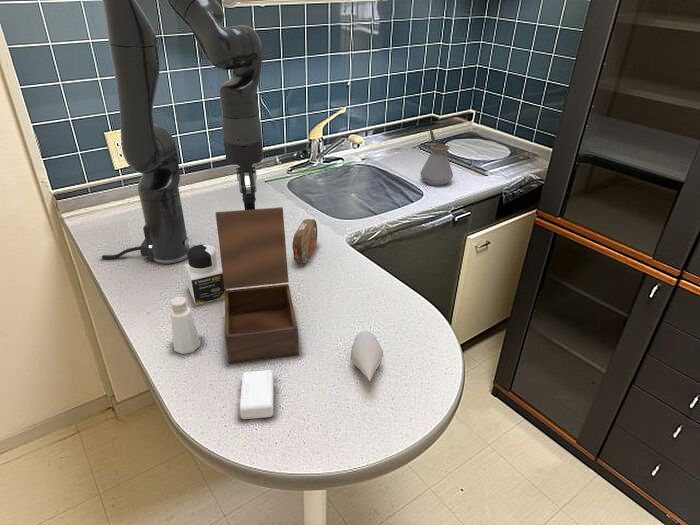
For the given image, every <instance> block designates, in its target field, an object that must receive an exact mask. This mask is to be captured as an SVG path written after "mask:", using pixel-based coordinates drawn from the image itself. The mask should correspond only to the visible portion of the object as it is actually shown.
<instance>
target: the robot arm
mask: <svg viewBox="0 0 700 525" xmlns="http://www.w3.org/2000/svg"><path fill="white" fill-rule="evenodd" d="M165 1H166V2H167V4H168V6H169V7H170V9H171V10H172V11H173V13H175V14H176V16H177V17H178V18H179V19H180V20H181V21H182V22H183V23H184V24H185V26H187V27H188V29H189V30H191V32H192V35H193V37H194V39H195V40H196V43H197V45H199V48H200V50H201V52H202V54H203V56H204V57H205V59H206V60H207V61H208V62H209V64H211V65H212V66H213V67H215V68H216V69H218V70H221V71H231V70H232V72H231V76H230V78H229V79H228V80H227V81H225V82H223V83H222V84H221V85H220V87H219V102H220V110H221V130H222V139H223V147H224V155H225V160H226V162H227V163H228V164H230V165H234V166H238V167H235V168H236V169H235V170H236V180H237V181H238V188H239V193H240V194H242V195H241V197H242V202H243V206H244V210H251V209H256V201H257V198H256V192H257V190H258V189H257V179H258V176H257V170H256V165H257V164H259V163H261V162H262V161H263V160H264V146H263V144H264V143H263V134H262V133H263V132H262V123H261V119H260V112H259V101H258V89H259V83H260V77H261V70H262V63H263V45H262V42H261V39H260V37H259V34H258V33H257V31H256V30H255V29H254V28H253V27H251V26H249V25H245V24H239V25H229V26H223V23H224V19H225V13H224V9H223V7H222V5H221V4H220V3H219V2H218V1H217V0H165ZM102 5H103V11H104V18H105V23H106V30H107V38H108V39H107V40H108V44H109V45H108V46H109V51H110V52H109V53H110V57H111V64H112V68H113V74H114V81H115V88H116V89H115V90H116V95H117V101H118V108H119V110H118V111H119V120H120V121H119V125H120V144H121V151H122V155H123V158H124V160H125V162H126V164H127V165H128V166H129V167H130V168H131V169H132V170H133V171H135V172H136V173H138V174H142V175H141V178H140V180H139V182H138V184H137V192H138V196H139V201H140V206H141V210H142V214H143V215H142V216H143V219H144V220H143V221H144V223H145V224H144V226H143V227H142V231H143V235H144V240H143V241H142V242H141V244H140V245H139V246H135V247H130V248H127V249H124V250H122V251H121V252H118V253H116V254H111V255H110V254H102V255H101V258H102V259H104V260H105V259H108V260H110V259H111V260H113V259H118V258H120V257H122V256H125V254H127V253H132V252H135V251H139V252H140V256H141V257H149V258H148V259H149V261H150V262H156V263H157V264H162V265H171V264H175V263H179V262H182V261H185V260H186V259H188V257H187V251H188V250H189V249H190V244H189V241H190V240H189V237H188V235H187V234H188V233H187V228H186V222H185V216H184V211H183V206H182V199H181V193H180V187H179V185H180V181H181V174H180V173H181V172H180V162H179V156H178V149H177V145H176V142H175V139H174V136H173V135H172V133H171V132H170V131H169V130H168V129H167V128H165V127H164V126H162V125H159V124H154V117H153V112H154V110H153V109H154V102H155V97H156V93H157V88H158V83H159V79H160V78H159V77H160V67H161V66H160V56H159V46H158V39H157V35H156V32H155V29H154V28H153V25H152V24H151V22H150V20H149V19H148V17H147V15H146V14H145V12H144V11H143V9H142V8H141V6H140V5H139V3H138V2H137V0H102ZM255 164H256V165H255ZM253 165H254V166H253Z"/></svg>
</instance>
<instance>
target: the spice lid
mask: <svg viewBox="0 0 700 525" xmlns="http://www.w3.org/2000/svg"><path fill="white" fill-rule="evenodd" d="M215 222H216V226H217V227H216V230H217V237H218V247H219V254H220V264H221V268H222V273H223V281H224V289H226V290H232V289H242V288H251V287H261V286H271V285H280V284H289V270H288V258H287V247H286V246H287V244H286V231H285V217H284V207H282V206H279V207H267V208H266V207H265V208H255V209H251V210H245V209H239V210H237V209H236V210H226V211H215Z"/></svg>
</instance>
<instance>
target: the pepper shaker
mask: <svg viewBox="0 0 700 525" xmlns="http://www.w3.org/2000/svg"><path fill="white" fill-rule="evenodd" d="M170 305H171V311H170V318H171V332H172V344H173V345H172V346H173V351H174V352H176V353H178V354H181V355H186V354H190V353H195V351H196V350H197V349H198V348H200V347H201V341H200V336H199V333H198V329H197V327H196V324H195V321H194V317H193V314H192V311H191V309H190V307H189V306H188V303H187V299H186V298H185V297H184V296H176V297H174V298H172V299H171V301H170Z"/></svg>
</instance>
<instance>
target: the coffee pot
mask: <svg viewBox="0 0 700 525" xmlns="http://www.w3.org/2000/svg"><path fill="white" fill-rule="evenodd" d="M427 133H428V134H430V139H431V142H432V144H431V145H430V149H431V152H430V154H429V156H428V158H427V160H426V161H425V163H424V165H423V167H422V169H421V171H420V173H419V174H420V177H421V179H422V180H423V181H424V183H426V184H427V185H430V186H437V187H438V186H439V187H440V186H445V185H447V183H449V182H450V181H452V179H453V177H454V174H453V170H452V167H451V164H450V160H449V157H448V154H447V153H448V151H449V150H450V146H449V145H446V144H443V143H436V138H435V135H434V129H432V128H429V129H428V131H427Z"/></svg>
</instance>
